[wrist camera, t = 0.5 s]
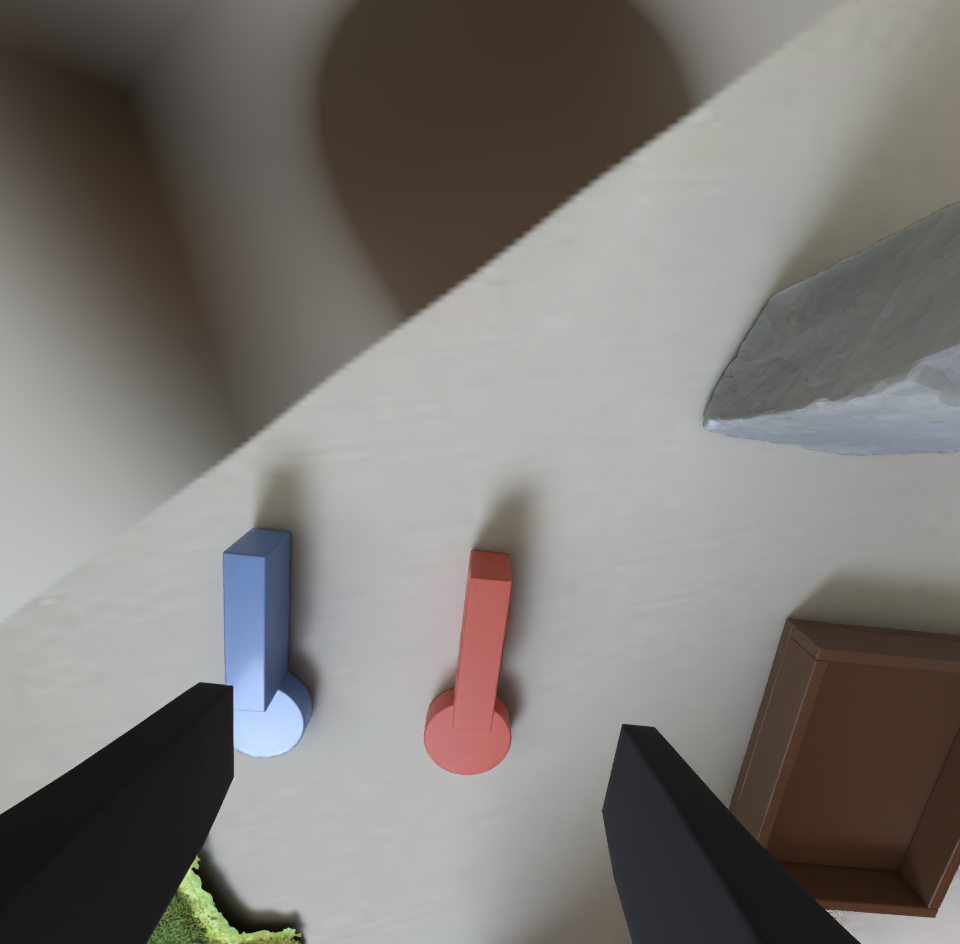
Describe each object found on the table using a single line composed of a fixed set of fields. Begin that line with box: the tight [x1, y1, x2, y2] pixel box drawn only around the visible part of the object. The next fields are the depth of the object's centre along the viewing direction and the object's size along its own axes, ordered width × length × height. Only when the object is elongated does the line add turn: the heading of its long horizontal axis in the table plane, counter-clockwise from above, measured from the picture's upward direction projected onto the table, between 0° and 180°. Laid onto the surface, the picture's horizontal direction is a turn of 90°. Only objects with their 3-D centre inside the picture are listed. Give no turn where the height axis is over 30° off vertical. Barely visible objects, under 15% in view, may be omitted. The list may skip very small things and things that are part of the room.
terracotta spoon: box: [424, 551, 512, 775], centre depth 18 cm, size 9×3×2 cm, turn 174°
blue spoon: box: [223, 528, 312, 757], centre depth 18 cm, size 9×3×2 cm, turn 173°
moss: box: [147, 855, 302, 944], centre depth 22 cm, size 11×15×1 cm
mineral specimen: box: [703, 202, 960, 456], centre depth 13 cm, size 7×9×8 cm
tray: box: [729, 619, 960, 918], centre depth 20 cm, size 12×8×2 cm
